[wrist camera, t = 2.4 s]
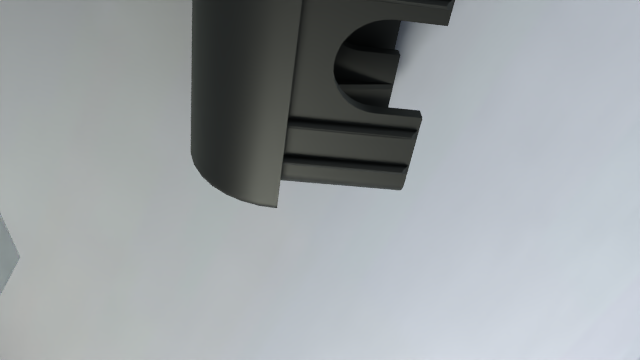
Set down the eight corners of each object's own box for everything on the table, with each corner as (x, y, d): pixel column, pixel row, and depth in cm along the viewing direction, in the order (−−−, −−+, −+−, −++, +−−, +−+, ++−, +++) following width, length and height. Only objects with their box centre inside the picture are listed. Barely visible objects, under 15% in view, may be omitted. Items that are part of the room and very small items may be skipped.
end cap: (210, -190, 18) (176, -159, 13) (435, -155, 19) (494, -112, 13) (203, 98, 24) (178, 204, 19) (375, 115, 25) (400, 222, 19)
